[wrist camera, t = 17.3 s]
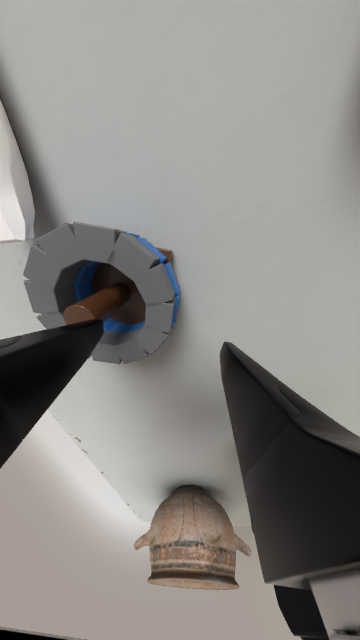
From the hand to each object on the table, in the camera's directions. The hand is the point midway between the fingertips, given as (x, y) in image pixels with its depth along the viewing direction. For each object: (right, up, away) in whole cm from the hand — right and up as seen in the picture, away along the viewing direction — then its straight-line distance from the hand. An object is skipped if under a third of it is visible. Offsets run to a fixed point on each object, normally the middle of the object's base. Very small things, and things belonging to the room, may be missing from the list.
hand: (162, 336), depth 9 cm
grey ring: (-5, +3, +3) cm, 6 cm away
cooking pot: (+4, -44, +30) cm, 54 cm away
